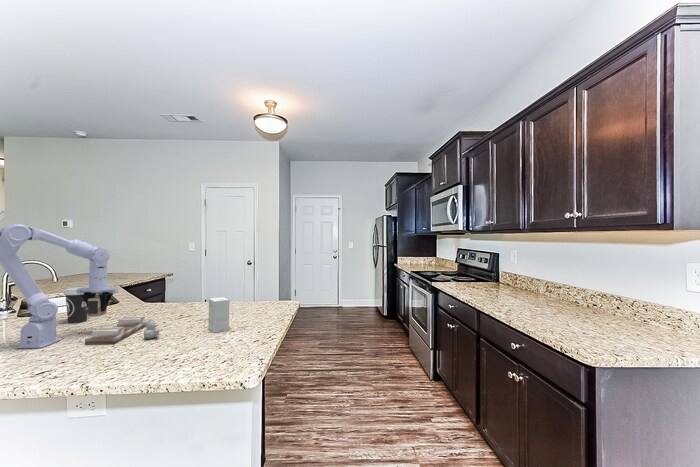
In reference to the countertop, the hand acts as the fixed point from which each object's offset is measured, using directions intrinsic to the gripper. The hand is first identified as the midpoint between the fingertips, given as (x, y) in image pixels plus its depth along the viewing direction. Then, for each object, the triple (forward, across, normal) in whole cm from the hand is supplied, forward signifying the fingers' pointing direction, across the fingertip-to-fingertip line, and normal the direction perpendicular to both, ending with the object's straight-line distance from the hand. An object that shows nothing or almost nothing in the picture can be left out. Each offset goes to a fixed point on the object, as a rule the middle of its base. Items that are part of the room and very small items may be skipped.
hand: (97, 311), depth 130 cm
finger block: (+2, 0, 0) cm, 2 cm away
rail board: (+9, -10, +2) cm, 13 cm away
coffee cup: (+9, +19, -18) cm, 28 cm away
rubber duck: (+9, -25, +9) cm, 28 cm away
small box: (+9, -47, -1) cm, 48 cm away
